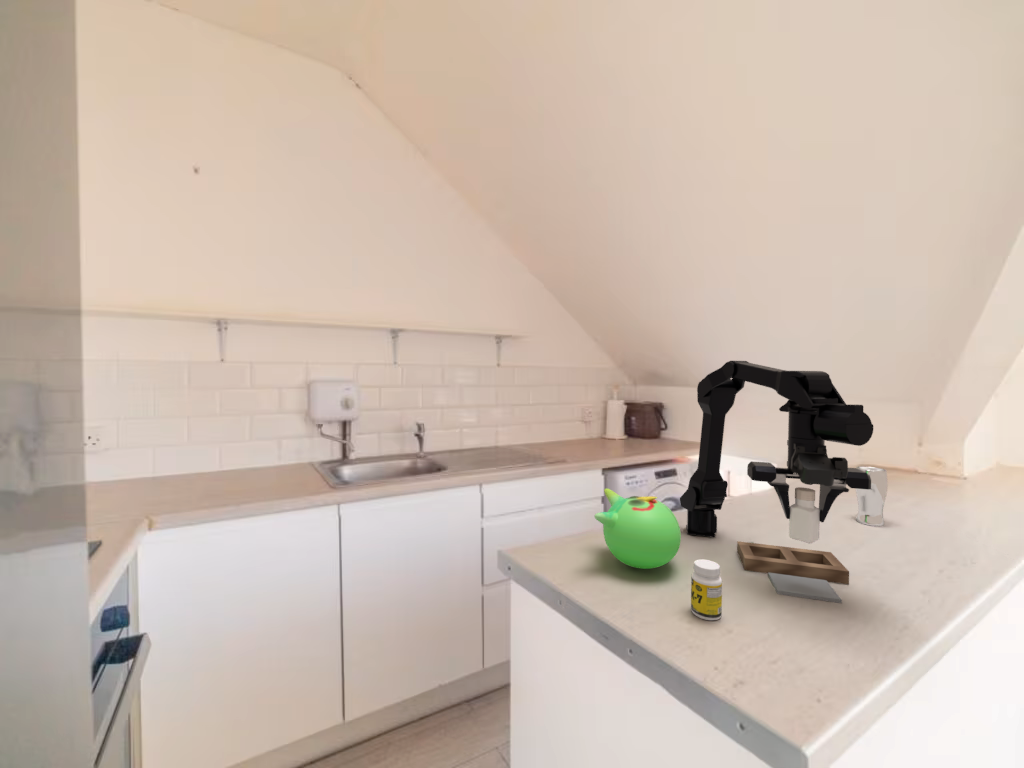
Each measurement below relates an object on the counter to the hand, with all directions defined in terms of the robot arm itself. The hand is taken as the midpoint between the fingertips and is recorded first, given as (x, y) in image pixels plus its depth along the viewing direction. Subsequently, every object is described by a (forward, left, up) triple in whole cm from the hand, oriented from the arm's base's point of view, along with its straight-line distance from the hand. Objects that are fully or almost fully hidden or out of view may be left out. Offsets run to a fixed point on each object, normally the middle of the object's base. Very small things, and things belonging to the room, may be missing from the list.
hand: (804, 520), depth 83 cm
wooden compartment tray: (0, +10, -13) cm, 16 cm away
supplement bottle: (-18, -16, -13) cm, 28 cm away
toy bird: (-30, +1, -13) cm, 33 cm away
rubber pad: (0, 0, -13) cm, 13 cm away
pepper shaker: (0, 0, -4) cm, 4 cm away
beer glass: (+29, +51, -13) cm, 60 cm away
